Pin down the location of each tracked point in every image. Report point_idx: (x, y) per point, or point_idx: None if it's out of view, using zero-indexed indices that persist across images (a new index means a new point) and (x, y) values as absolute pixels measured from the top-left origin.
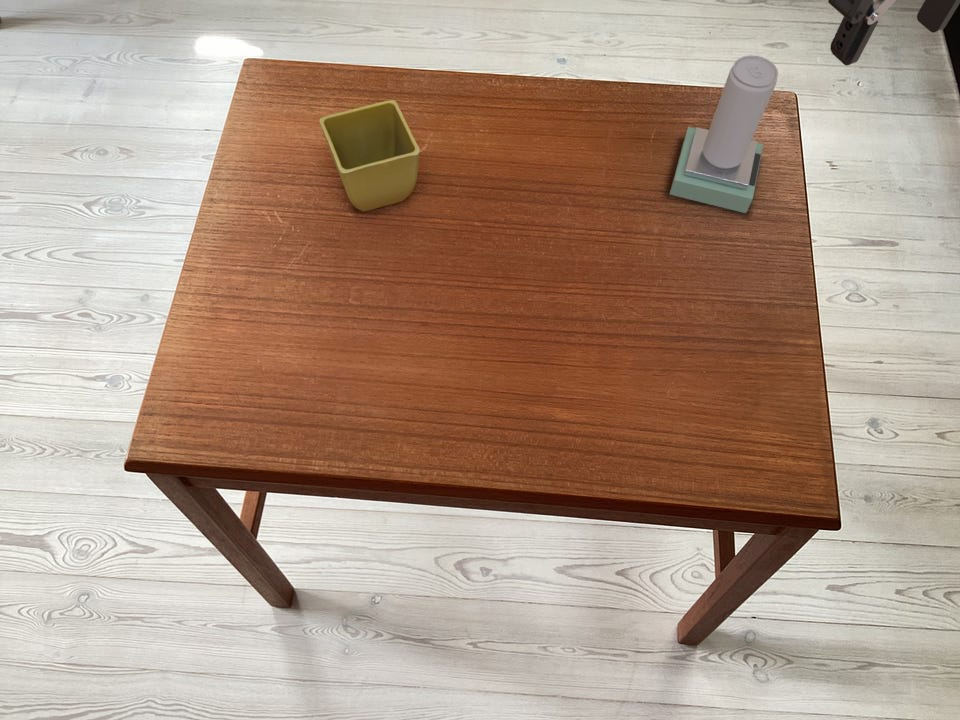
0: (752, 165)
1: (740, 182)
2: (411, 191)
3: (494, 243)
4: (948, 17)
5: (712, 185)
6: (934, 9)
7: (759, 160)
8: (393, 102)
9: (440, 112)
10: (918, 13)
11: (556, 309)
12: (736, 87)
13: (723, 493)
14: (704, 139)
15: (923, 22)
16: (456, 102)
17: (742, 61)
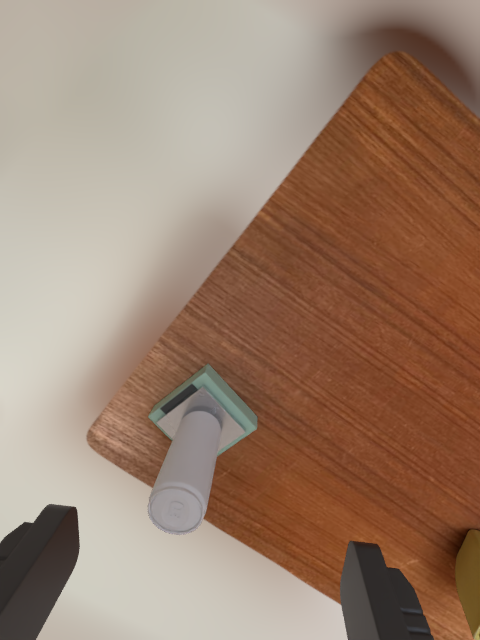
0: (181, 403)
1: (207, 393)
2: (476, 537)
3: (434, 455)
4: (34, 540)
5: (228, 404)
6: (49, 577)
7: (166, 404)
8: (477, 637)
9: None
10: (71, 570)
11: (440, 372)
12: (206, 502)
13: (463, 122)
14: None
15: (75, 541)
16: None
17: (178, 528)
